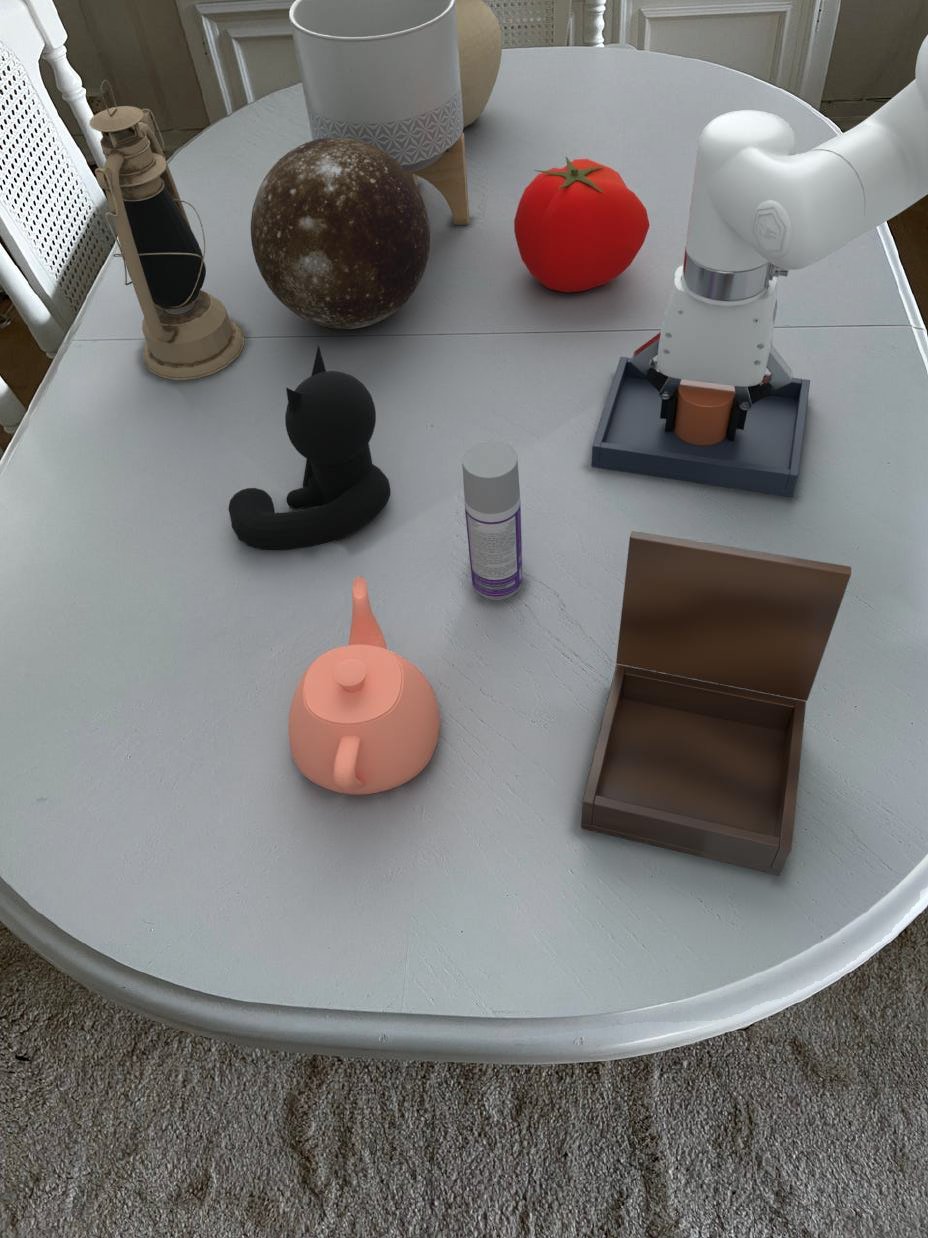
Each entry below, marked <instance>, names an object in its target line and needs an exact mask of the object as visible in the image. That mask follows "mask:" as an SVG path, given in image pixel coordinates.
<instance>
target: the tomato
mask: <svg viewBox="0 0 928 1238" xmlns="http://www.w3.org/2000/svg"><path fill="white" fill-rule="evenodd" d="M565 161H566V165H565V166H564V167H561V168H559V167H552V168H549V169H547V170H536V169H532V171H534V172H538V174H537V175H536V176H535V177H534V178H533V179H532V181H531V182H529V184H528V185H527V186H526V187H525V188H524V191H523V193H522V194H521V197H520V199H519V202H518V205H517V209H516V212H515V215H514V216H515V217H514V220H513V224H514V225H513V228H514V236H515V240H516V244H517V248H518V251H519V252H518V253H519V255H520V258H521V260H522V263H524V265H525V267H526V269H527V270H528V272H529V273H530V275H532V277H534V278H535V279H536V280H537V281H539V282H540V283H541V284H542V285H544V286H545V287H546V288H547V289H550V290H553V291H554V290H555V291H557V292H562V293H576V292H578V293H579V292H583V291H587V290H591V289H594V288H598V287H600V286H605V285H608V284H609V283H611V282H612V281H613V280H614V279H616V278H617V277H618V276H620V275H621V274H623V272H625V271H626V270H627V269H628V268H629V267H630V266H631V265H632V263H633V262H634V260H635V258H636V256H637V255H638V253H639V251H640V250H641V249H642V247H643V245H644V243H645V241H646V238H647V234H648V232H649V229H650V225H651V224H650V222H649V221H650V219H649V215H648V210H647V209H646V207H645V205H644V204H643V202H642V201H641V200H640V198H639V197H638V196H637V195H636V194H635V192H634V191H633V190H631V189H629V188H628V186H627V185H626V183H625V181H624V180H623V177H622V176H621V174H620V173H619V172H618V171H616V170H614V169H613V168H612V167H609V166H606V165H604V164H602V163H599V162H596V161H594V160H592V159H589V158H577V159H576V158H575V159H573V160H572V161H570V159H569V158H568V157H567V156H565Z"/></svg>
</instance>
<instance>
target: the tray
mask: <svg viewBox="0 0 928 1238" xmlns="http://www.w3.org/2000/svg"><path fill="white" fill-rule="evenodd" d="M631 360H632V357H627V356H620V358H619V360H618V364H617V368H616V371H615V374H614V377H613V380H612V383H611V386H610V389H609V393H608V396H607V399H606V401H605V405H604V408H603V411H602V415H601V418H600V421H599V423H598V427H597V431H596V434H595V436H594V440H593V443H592V446H591V447H592V448H591V465H590V466H591V468H596V469H603V470H604V469H605V470H609V471H616V472H622V473H629V474H636V475H643V476H650V477H656V478H663V479H670V480H674V481H675V480H676V481H685V482H689V483H696V484H702V485H703V484H704V485H710V486H717V487H722V488H729V489H736V490H743V491H749V492H756V493H761V494H770V495H775V496H783V497H789V498H793V497H794V493H795V489H796V485H797V482H798V478H799V474H800V473H799V471H800V465H801V457H802V449H803V441H804V435H805V434H804V432H805V425H806V417H807V412H808V411H807V410H808V401H809V395H810V387H811V379H806V378H797V377H792V381H791V383H790V384H788V385H786V386H784V387H782V388H780V389H778V390H776V391H775V390H774V391H772V392H771V394H770V395H768V396H767V397H765V398H763V399H761V400H759V401H758V402H756V403H754V404H752V407H751V408H750V409H749V410H748V411H747V416H746V421H745V425H744V430H741V429H736V434H735V439H734V441H730V440H729V439H727V437H728V435H727V436H726V437H725V438H724V439H723V440H722V441H720V442H718V443H716V444H713V445H706V446H700V445H693V444H690V443H687V442H685V441H683V440H682V439H680V438H679V437H678V436H677V435H676V433H675V431H674V428H673V429H672V431H670V432H666V431H665V424H666V419H661V418H660V413H661V405H662V398H660V396H659V391H658V390H657V389H656V388H655V387H654V386H653V385H652V384H651V383H650V382H649V381H648V380H647V378H646V375H645V374H644V373H643V374H642V373H641V372H640V371H639V370H638V369H637V368H636V367H635V366H634V365H633V364H632V362H631ZM654 362H657V360H654ZM769 375H770V374H766V373H765V374H764V376H769Z"/></svg>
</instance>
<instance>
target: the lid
mask: <svg viewBox="0 0 928 1238" xmlns="http://www.w3.org/2000/svg"><path fill="white" fill-rule="evenodd" d="M628 541H629V542H628V550H627V557H626V558H627V560H626V568H625V578H624V586H623V595H622V596H623V597H622V605H621V615H620V623H619V632H618V641H617V650H616V659H615V663H616V664H615V665H617V664H618V665H623V666H629V667H634V668H639V669H644V670H649V671H654V672H659V673H665V674H670V675H675V676H680V677H685V678H690V679H695V680H700V681H705V682H710V683H715V684H721V685H726V686H731V687H736V688H741V689H746V690H751V691H756V692H761V693H766V694H771V695H776V696H782V697H787V698H792V699H795V700H796V699H797V700H802V701H806V702H808V700H809V698H810V694H811V692H812V689H813V686H814V683H815V680H816V678H817V675H818V672H819V668H820V665H821V663H822V660H823V657H824V654H825V651H826V649H827V646H828V644H829V643H828V642H829V639H830V637H831V634H832V631H833V629H834V625H835V622H836V620H837V617H838V613H839V611H840V608H841V605H842V603H843V599H844V596H845V593H846V590H847V587H848V584H849V582H850V579H851V576H852V567H851V566H850V565H843V564H838V563H837V564H836V563H831V562H825V561H818V560H812V559H806V558H801V557H795V556H788V555H781V554H777V553H770V552H764V551H758V550H752V549H745V548H740V547H734V546H727V545H720V544H715V543H709V542H704V541H703V542H702V541H697V540H692V539H691V540H690V539H684V538H678V537H672V536H666V535H660V534H653V533H648V532H642V531H635V530H631V531H630V535H629V540H628Z"/></svg>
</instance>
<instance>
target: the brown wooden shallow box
mask: <svg viewBox="0 0 928 1238" xmlns="http://www.w3.org/2000/svg"><path fill="white" fill-rule="evenodd" d="M806 707H807V701H804V700H799V699H794V698H788V697H783V696H778V695H773V694H768V693H763V692H758V691H753V690H748V689H743V688H738V687H732V686H727V685H722V684H717V683H712V682H707V681H702V680H697V679H692V678H687V677H681V676H676V675H671V674H666V673H661V672H656V671H651V670H646V669H641V668H636V667H631V666H625V665H620V664H615V668H614V672H613V676H612V680H611V685H610V689H609V693H608V696H607V701H606V704H605V709H604V713H603V717H602V721H601V724H600V728H599V733H598V737H597V741H596V746H595V748H594V753H593V757H592V761H591V765H590V769H589V773H588V778H587V782H586V785H585V790H584V793H583V798H582V804H581V821H580V829H581V830H582V829H583V830H587V831H591V832H595V833H600V834H604V835H608V836H612V837H616V838H621V839H625V840H627V841H632V842H636V843H641V844H645V845H648V846H649V845H650V846H653V847H654V846H655V847H659V848H663V849H667V850H671V851H675V852H679V853H683V854H687V855H692V856H696V857H700V858H705V859H709V860H713V861H717V862H720V863H721V862H722V863H726V864H729V865H733V866H738V867H742V868H746V869H751V870H756V871H760V872H764V873H767V874H772V875H775V876H781V874H782V872H783V870H784V867H785V865H786V863H787V861H788V859H789V856H790V854H791V852H792V848H793V840H794V839H793V837H794V829H795V818H796V810H797V809H796V808H797V799H798V787H799V779H800V769H801V757H802V750H803V738H804V729H805V728H804V727H805V718H806Z"/></svg>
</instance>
